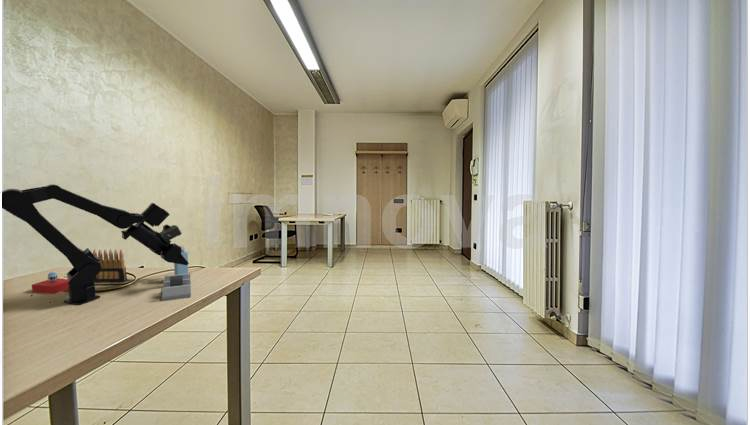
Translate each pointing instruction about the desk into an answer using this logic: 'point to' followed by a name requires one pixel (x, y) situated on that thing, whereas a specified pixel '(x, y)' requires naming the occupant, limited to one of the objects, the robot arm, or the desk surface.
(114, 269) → the ammunition clip
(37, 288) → the red block with knob
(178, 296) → the organizer
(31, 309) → the desk surface
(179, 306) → the desk surface
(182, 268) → the blue plug
